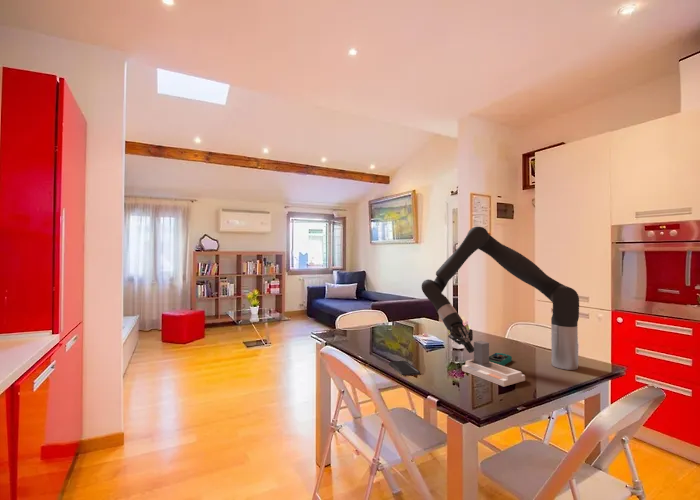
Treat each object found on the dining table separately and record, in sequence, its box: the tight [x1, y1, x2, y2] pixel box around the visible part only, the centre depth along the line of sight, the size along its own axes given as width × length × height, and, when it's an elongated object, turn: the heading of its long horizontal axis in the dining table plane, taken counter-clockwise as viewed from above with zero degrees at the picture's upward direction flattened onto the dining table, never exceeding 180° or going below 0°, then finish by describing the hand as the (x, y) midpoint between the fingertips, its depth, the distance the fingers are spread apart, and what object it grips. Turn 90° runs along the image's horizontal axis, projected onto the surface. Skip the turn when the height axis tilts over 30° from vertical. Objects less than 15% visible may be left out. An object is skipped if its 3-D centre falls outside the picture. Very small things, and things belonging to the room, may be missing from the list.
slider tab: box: [473, 340, 491, 367], centre depth 135 cm, size 5×5×9 cm
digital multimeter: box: [489, 352, 513, 366], centre depth 146 cm, size 7×15×3 cm, turn 136°
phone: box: [388, 360, 421, 377], centre depth 138 cm, size 8×1×15 cm
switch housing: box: [461, 358, 526, 387], centre depth 131 cm, size 12×19×4 cm, turn 29°
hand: (472, 351), depth 139 cm, fingers closed
